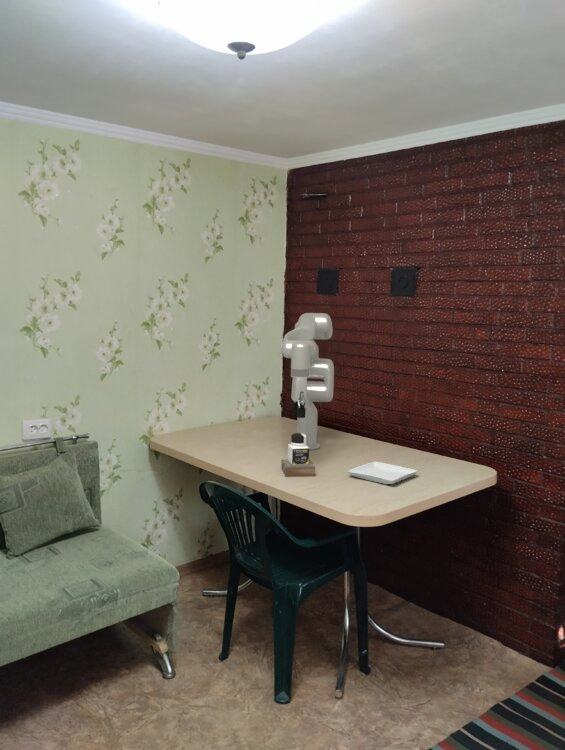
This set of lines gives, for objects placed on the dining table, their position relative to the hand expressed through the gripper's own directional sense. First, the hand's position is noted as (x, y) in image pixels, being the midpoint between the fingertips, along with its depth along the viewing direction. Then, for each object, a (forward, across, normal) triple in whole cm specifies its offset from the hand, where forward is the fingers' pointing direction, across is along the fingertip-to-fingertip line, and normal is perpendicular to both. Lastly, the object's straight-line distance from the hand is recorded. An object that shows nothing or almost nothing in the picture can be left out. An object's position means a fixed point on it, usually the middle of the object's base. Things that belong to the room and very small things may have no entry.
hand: (299, 415), depth 258 cm
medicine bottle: (+20, 0, 0) cm, 20 cm away
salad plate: (+24, +9, +33) cm, 42 cm away
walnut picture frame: (+24, 0, 0) cm, 24 cm away
